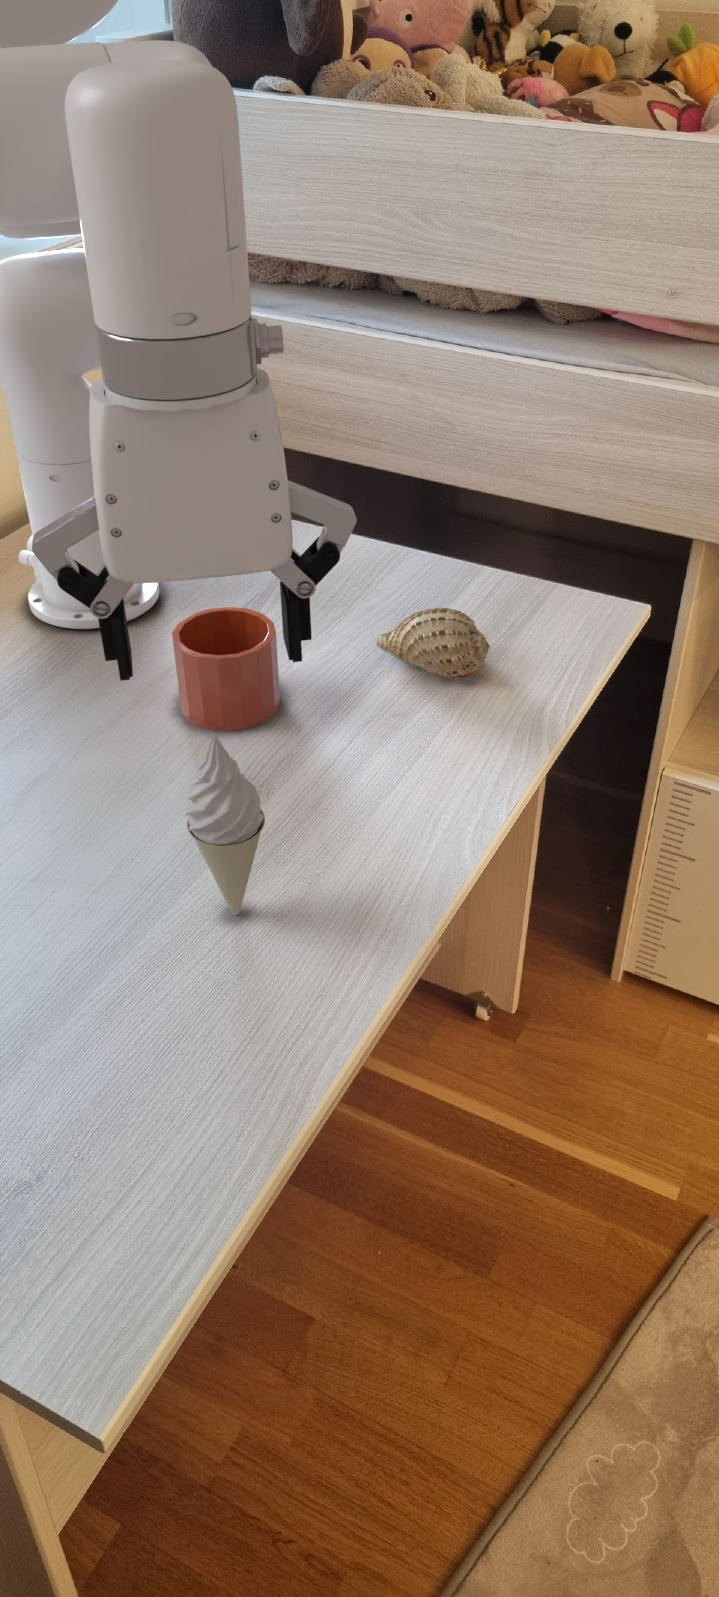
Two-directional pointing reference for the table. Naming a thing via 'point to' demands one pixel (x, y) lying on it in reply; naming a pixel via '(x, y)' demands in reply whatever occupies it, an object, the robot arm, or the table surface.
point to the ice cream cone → (225, 822)
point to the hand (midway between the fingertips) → (210, 659)
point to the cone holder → (227, 668)
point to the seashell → (438, 643)
